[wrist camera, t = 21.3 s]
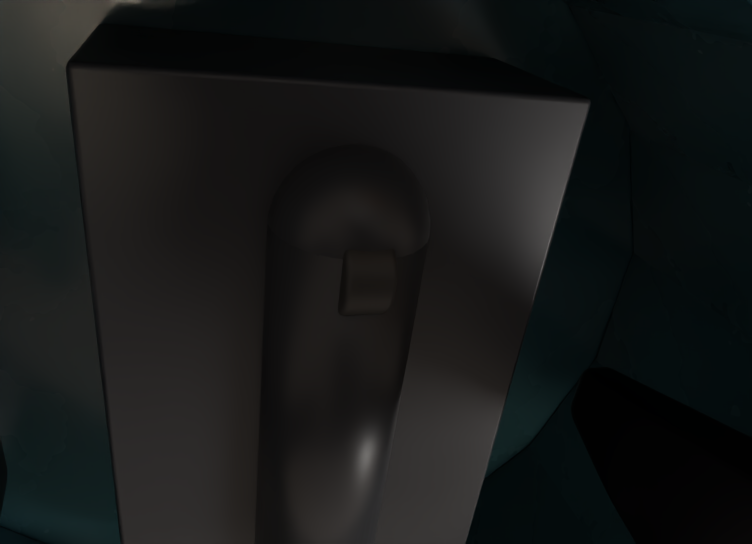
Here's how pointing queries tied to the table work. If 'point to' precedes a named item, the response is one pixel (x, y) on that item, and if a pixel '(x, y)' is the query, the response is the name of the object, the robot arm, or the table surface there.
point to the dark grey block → (309, 277)
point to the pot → (559, 278)
